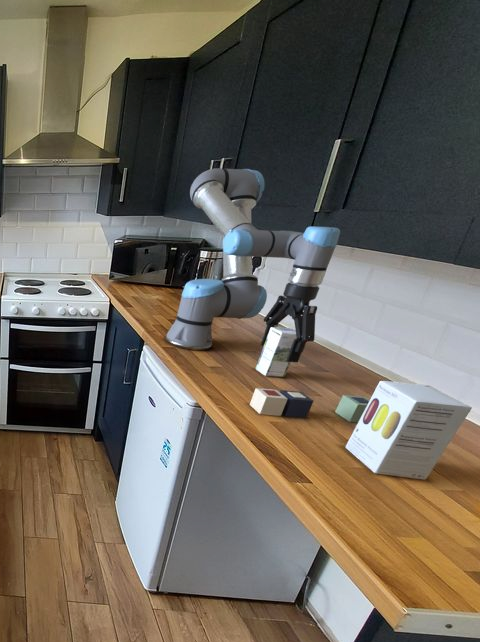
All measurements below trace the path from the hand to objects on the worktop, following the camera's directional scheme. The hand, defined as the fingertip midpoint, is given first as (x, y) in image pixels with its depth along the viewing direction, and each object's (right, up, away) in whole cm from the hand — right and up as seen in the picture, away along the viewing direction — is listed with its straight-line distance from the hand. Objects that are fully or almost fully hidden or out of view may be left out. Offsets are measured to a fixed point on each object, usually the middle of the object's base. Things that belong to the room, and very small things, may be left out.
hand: (278, 353), depth 122 cm
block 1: (-18, -15, -19) cm, 31 cm away
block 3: (+3, -17, -21) cm, 27 cm away
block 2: (-12, -16, -20) cm, 28 cm away
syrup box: (0, -6, +3) cm, 7 cm away
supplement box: (-8, -25, -38) cm, 46 cm away
